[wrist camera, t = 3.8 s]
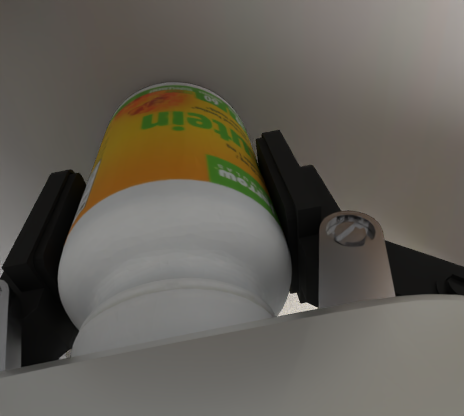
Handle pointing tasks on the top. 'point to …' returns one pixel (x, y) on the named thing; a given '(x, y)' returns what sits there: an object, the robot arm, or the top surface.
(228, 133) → the supplement bottle
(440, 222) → the top surface
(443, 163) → the top surface
